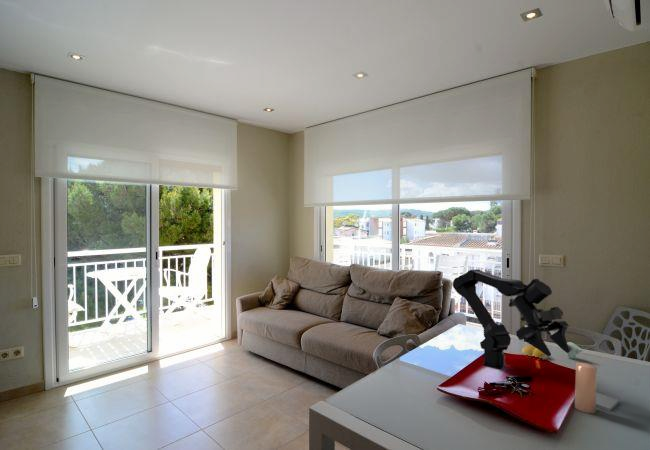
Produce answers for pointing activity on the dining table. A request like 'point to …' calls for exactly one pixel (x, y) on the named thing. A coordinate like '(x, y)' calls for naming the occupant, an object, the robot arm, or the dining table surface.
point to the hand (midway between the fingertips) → (559, 354)
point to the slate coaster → (605, 402)
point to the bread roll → (533, 352)
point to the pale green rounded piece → (573, 350)
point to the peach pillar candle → (585, 387)
